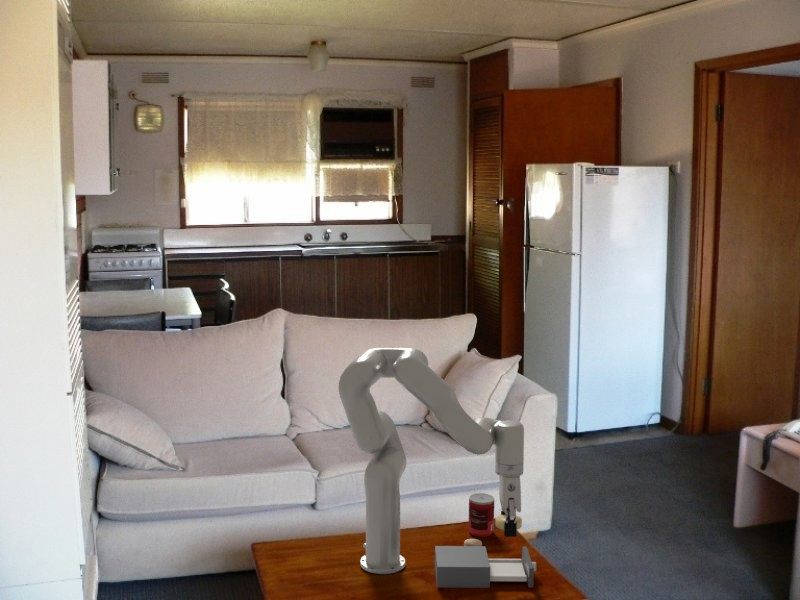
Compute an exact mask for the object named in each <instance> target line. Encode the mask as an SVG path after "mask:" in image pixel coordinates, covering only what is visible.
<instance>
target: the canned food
mask: <svg viewBox="0 0 800 600" xmlns="http://www.w3.org/2000/svg"><path fill="white" fill-rule="evenodd" d="M494 525H495V497H494V496H493V495H492V494H489V493H485V492H480V493H479V492H478V493H473V494H470V495H469V499H468V532H469V534H470V535H472V536H473V537H477V538H487V536H488V537H490V536H492V535H493V534H492V533H494V528H495V527H494ZM491 534H492V535H491Z"/></svg>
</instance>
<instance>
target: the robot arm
mask: <svg viewBox="0 0 800 600" xmlns="http://www.w3.org/2000/svg"><path fill="white" fill-rule="evenodd" d="M339 377H340V378H339V380H338V381H339V382H338V394H339V397H340V398H339V399H340V401H341V403H342V406H343V409H344V412H345V414H346V419H347V420H348V425H349V426H350V429H351V432H352V435H353V438H354V441H355V444H356V446H357V447H358V449H359V450H360V451H361V452H363V453H365V454H370V455H371V459H370V460H369V462H368V463H367V465H366V468H365V470H364V474H363V475H364V477H363V480H364V481H363V482H364V491H365V492H364V493H365V543H363V544H362V546H363V548H364V549H365V554H364V555H363V556H361V558H360V560H359V564H360V567H361V568H362V569H363V571H366V572H367V573H368V572H369V573H372V574H378V575H388V574H389V575H390V574H394V573H397V572H400V571H402V570H403V569H404V568H405V566H406V559H405V557H404V556H402V555H401V543H400V542H401V492H400V481H401V478H402V476H403V474H404V472H405V470H406V468H407V457H406V453H405V450H404V447H403V444H402V442H401V438H400V436H399V433H398V430H397V427H396V425H395V422H394V421H393V419H392V418H391V416H390V415H389V414H387V413H386V412H385V411H382V410H379V409H378V408H377V404H376V401H375V399H374V397H373V395H372V394H371V387H372V386H373V385H375V384H376V383H377V382H378V381H379V380H380V379H382V378H384V379H385V378H394V379H395V381H396V382H398V383H399V384H400V385H401V386H402V387H403V388H405V390H407V392H409V393H410V394H411V395H412V396H414V398H416V399H417V400H418V401H419V402H420V403H422V404H423V405H424V406H425V407H426V408H427V409H428V410H429V411H430V413H432V415H433V416H434V418H435V419H436V420H437V422H438V423H439V424H440V426H441V427H442V428H443V430H445V432H446V433H447V434H448V435H449V436H450V437H451V438H452V439H453V440H455V442H457V443H458V444H459V445H460V446H461V447H463V449H465V450H466V451H467V452H470V453H471V454H472V455H484V454H486V453H488V452H490V450H491V448H492V446H493V445H494V446H495V448H494V451H495V452H494V453H495V454H494V455H495V457H494V458H495V459H494V461H495V462H494V464H495V465H494V471H495V472H494V473H495V474H496V475H497V476H498V478H499V479H498V480H499V481H498V485H499V486H498V487H499V488H498V491H499V503H500V506H501V510H500V515H502V514H505V521H506V522H504V530H503V534H504V535H503V536H504V537H505V538H516V537H517V522H516V515H517V512H518V513H521V512H522V491H521V489H522V488H521V476H523V474H524V463H525V462H524V459H525V455H524V454H525V453H524V451H525V427H524V425H523V423H522V422H520V421H517V420H511V419H507V420H500V419H495V418H489V417H484V416H482V417H481V416H480V417H477V418H474V419H473V418H472V417H471V416H470V415H469V414H467V412H466V410H464V408H463V407H462V406H461V404H460V402H459V400H458V397H457V394H456V392H455V390H454V389H453V387H452V386H451V385H450V384H449V383H448V382H447V381H445V380H444V379H443V378H442V377H441V376H440V375H439V374H437V372H435V371H434V370H433V369H431V367H430V366H429V359H428V357H427V356H426V354H425V353H424V352H423V351H422V350H420V349H418V348H414V347H413V348H412V347H406V348H405V347H398V348H397V347H393V348H392V347H390V348H389V347H376V348H374V347H373V348H368V349H366V350H364V351H363V352H362V353H360V354H359V355H358V356H356V357H355V358H354V360H353V361H351V362H350V364H348V365H347V367H346V368H345V369H344V371H343V372H342V373H341V375H340V376H339ZM508 514H509V515H508Z"/></svg>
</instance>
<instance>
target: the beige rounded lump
mask: <svg viewBox="0 0 800 600" xmlns="http://www.w3.org/2000/svg"><path fill="white" fill-rule="evenodd" d="M463 546H483V542H482V540H481V539H476V538H468V539H465V540H464V541H463Z"/></svg>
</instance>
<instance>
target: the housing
mask: <svg viewBox="0 0 800 600" xmlns="http://www.w3.org/2000/svg"><path fill="white" fill-rule="evenodd" d="M488 559H489V557H488V552H487V546H485V545H484V546H483V545H482V546H464V545H460V546H459V545H434V571H435V582H436V587H437V588H463V589H464V588H468V589H469V588H475V589H476V588H480V589H481V588H484V589H485V588H486V589H487V588H488V589H489V588H491V581H490V564H489V560H488Z"/></svg>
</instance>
